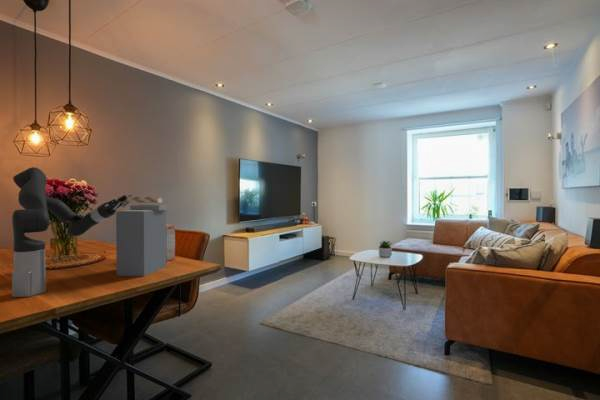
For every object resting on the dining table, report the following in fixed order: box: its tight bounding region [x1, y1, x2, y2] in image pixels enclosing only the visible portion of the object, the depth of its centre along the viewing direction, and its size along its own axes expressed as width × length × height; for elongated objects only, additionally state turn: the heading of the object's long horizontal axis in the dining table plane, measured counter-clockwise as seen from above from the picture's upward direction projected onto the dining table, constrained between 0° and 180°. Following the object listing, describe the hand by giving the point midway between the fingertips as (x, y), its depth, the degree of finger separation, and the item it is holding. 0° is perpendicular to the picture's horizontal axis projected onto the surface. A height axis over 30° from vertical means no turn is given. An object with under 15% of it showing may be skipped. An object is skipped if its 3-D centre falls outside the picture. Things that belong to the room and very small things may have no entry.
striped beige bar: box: [117, 196, 163, 204], centre depth 158 cm, size 22×4×3 cm, turn 85°
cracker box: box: [166, 223, 176, 262], centre depth 181 cm, size 14×6×21 cm, turn 58°
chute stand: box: [115, 204, 169, 277], centre depth 153 cm, size 16×20×33 cm
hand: (129, 196), depth 158 cm, fingers closed on striped beige bar, 4 cm apart
